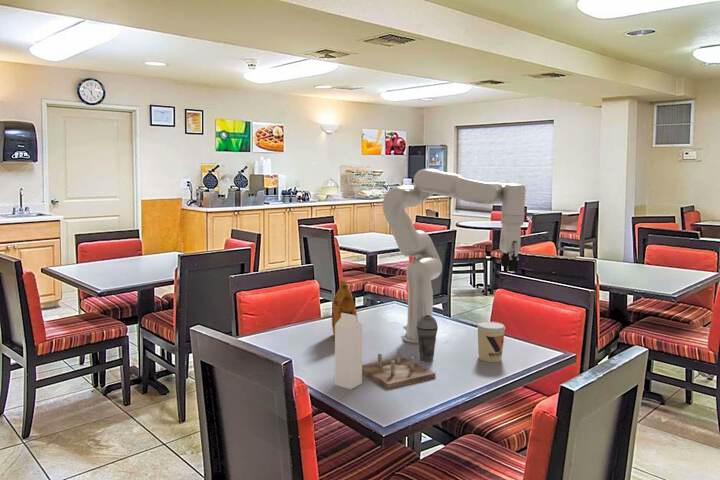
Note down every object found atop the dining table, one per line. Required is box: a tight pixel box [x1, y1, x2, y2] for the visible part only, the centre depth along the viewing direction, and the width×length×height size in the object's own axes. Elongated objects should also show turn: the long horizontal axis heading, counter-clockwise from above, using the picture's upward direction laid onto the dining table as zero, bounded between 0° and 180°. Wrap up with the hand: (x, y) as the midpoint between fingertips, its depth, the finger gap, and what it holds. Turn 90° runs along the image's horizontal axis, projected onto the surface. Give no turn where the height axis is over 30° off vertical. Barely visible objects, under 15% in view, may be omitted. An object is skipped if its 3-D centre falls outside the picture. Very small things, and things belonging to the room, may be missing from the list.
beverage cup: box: [417, 303, 439, 363], centre depth 195 cm, size 7×7×20 cm
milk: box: [334, 313, 363, 390], centre depth 172 cm, size 6×6×22 cm
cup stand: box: [362, 349, 437, 390], centre depth 182 cm, size 18×18×6 cm
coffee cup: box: [476, 321, 506, 363], centre depth 197 cm, size 9×9×12 cm
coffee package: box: [331, 279, 359, 337], centre depth 219 cm, size 10×12×22 cm
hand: (509, 268), depth 198 cm, fingers open, 9 cm apart
